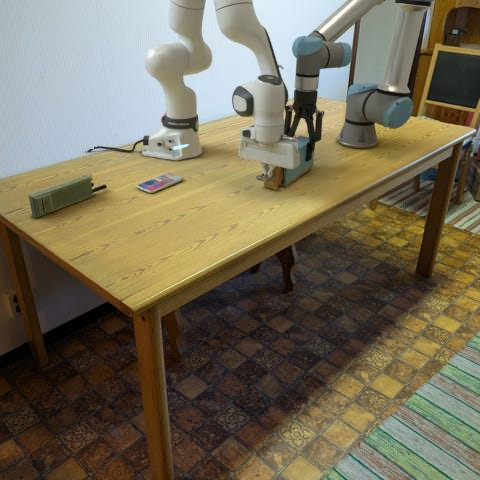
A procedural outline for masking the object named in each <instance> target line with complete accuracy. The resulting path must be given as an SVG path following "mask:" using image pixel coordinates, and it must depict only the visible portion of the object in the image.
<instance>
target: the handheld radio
mask: <svg viewBox="0 0 480 480" xmlns="http://www.w3.org/2000/svg"><path fill="white" fill-rule="evenodd" d="M92 176H93V174H91V173H88V174H85V175H83V176H79V177H76V178H74V179H71V180H68V181H65V182H62V183H59V184H57V185H54V186H50V187H47V188H44V189H42V190H39V191H37V192H33V193H30V194H28V200H29V206H30V210H31V216H32V217H34V218H35V219H36V218H39V217H42V216H45V215H47V214H50V213H53V212H56V211H58V210H60V209H63V208H66V207H68V206H72V205H73V204H76V203H80V202H82V201H84V200H87V199H90V198H93V196H95V195H96V194H95V193H97V192H100V191H102V190H106V189H107V188H108V186H107V184H102V185H99V186H96V187H94V186H95V183H94V182H92V181H93V180H94V178H93V177H92ZM93 187H94V188H93Z"/></svg>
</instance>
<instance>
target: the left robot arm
mask: <svg viewBox="0 0 480 480" xmlns="http://www.w3.org/2000/svg"><path fill="white" fill-rule="evenodd" d="M213 5H214V10H215V16H216V21H217V26H218V29H219V30H220V32H221V34H222V35H223V36H224V37H225V38H227V39H228V40H230V41H232V42H234V43H236V44H240V45H241V46H245V47H246V48H248V49H249V50H250V51H251V52H252V53H253V54H254V56H255V59H256V61H257V65H258V67H259V71H260V75H259V76H257V77H256V78H255V79H254V80H253V81H251V82H248V83H243V84H240V85H237V86H236V87H235V88H234V90H233V92H232V97H231V105H232V108H233V110H234V112H235V113H236V114H237V115H239V116H240V117H242V118H253V120H254V123H253V124H252V125H249V126H247V127H244V128H242V129H240V131H239V136H240V138H239V140H238V156H239V157H240V159H243V160H248V161H253V162H256V163H260V167H261V170H262V171H263V173H264V176H263V177H268V178H270V177H272V171H273V170H274V168H275V167H276V166H279V167H283V168H288V169H295V168H296V167H298V166H299V164H300V153H299V149H300V143H299V142H298V140H296V138H297V137H296V138H294V137H295V136H294V137H288V136H286V135H284V123H285V118H284V113H285V106H287V104H288V102H289V90H288V88H287V86H286V83H285V81H284V79H283V77H282V73H281V70H280V67H278V65H279V64H278V60H277V57H276V55H275V51H274V47H273V44H272V40H271V38H270V36H269V33H268V30H267V29H266V27H264V25H262V23H261V21H260V20H259V17H258V16H257V14H256V10H255V7H254V1H253V0H213ZM205 8H206V0H169V9H168V17H167V22H168V25H169V28H170V29H171V30H172V31H173V32H174V33H176V34H177V35H178V36H177V41H176V42H172V43H161V44H158V45H156V46H153V47H150V48H149V49H147V51H146V53H145V55H144V62H143V63H144V67H145V69H146V71H147V73H148V74H149V76H151V77H152V78H153V79H155V80H156V81H157V82H158V84H159V85H160V87H161V89H162V91H163V95H164V102H165V113H163V114H162V116H161V118H160V123H161V125H159V127H157V128H156V129H155V130H154V131H152V132H151V133H150V135H144V136H143V138H142V139H139V140H137V141H136V142H135V143H134V144H133V146H132V149H124V148H118V147H111V146H102V145H97V147H96V146H93V147H94V149H91V148H89V149H88V150H87V153H91V152H92V151H93V150H97V149H103V150H112V151H118V152H123V153H132V152H134V151H135V150H136V146H137V145H139V144H141V143H142V146H144V147H143V148H142V150H141V155H142V156H145V157H152V158H157V159H164V160H170V161H176V162H178V161H182V160H185V159H190V158H191V159H192V158H196V157H198V156H200V155H202V153H203V149H202V148H203V147H202V145H201V142H200V134H199V128H200V121H199V114H198V103H197V93H196V92H195V91H194V89H192V88H191V87H189V86H187V85H186V84H185V79H184V77H185V76H191V75H196V74H201V73H202V72H204V71H206V70H209V68H210V67H211V65H212V62H213V52H212V50H211V48H210V46H209V45H208V44H207V43H206V42H205V40H204V37H203V20H204V14H205ZM267 165H268V166H267ZM268 167H269V168H270V169H268Z"/></svg>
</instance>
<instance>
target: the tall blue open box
mask: <svg viewBox="0 0 480 480" xmlns="http://www.w3.org/2000/svg"><path fill="white" fill-rule="evenodd" d="M296 140H298V142H299V143H300V149H299V153H300V164H299V166H298V167H296V168H295V169H288V168H284V182H282V183H281V184H280V185H279V186H280V187H284V188H287V187H288V186H290V185H291V184H292V183H293V182H294V181H296V180H297V179H299V178H300V177H301V176H303V175H304V174H305V173H307V172H308V171H309V170H311V169H312V168H314V159H315V150H314V151H313V152H312V158H311V160H310V161H308V162H306V151H307V143H308V142H310V141H309V136H305V135H298V136H296Z"/></svg>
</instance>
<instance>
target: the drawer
mask: <svg viewBox="0 0 480 480" xmlns="http://www.w3.org/2000/svg"><path fill="white" fill-rule="evenodd" d="M267 166H268V165H267ZM268 169H270V168H269V167H268ZM255 180H257V181H261V182H263V187H265V188H269V189H272V190H275V191H276V190H278V189H279V186H280V184H281V183H282V182H284V168H283V167H279V166H276V167H275V168H274V170H273V171H272V177H270V178H268V177H264V172H263V173H261V174H260V175H256V177H255Z"/></svg>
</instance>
